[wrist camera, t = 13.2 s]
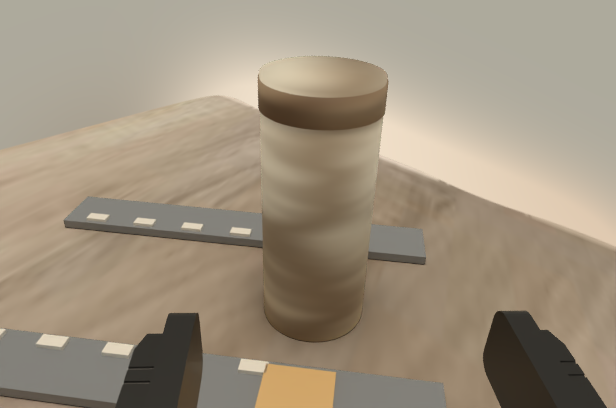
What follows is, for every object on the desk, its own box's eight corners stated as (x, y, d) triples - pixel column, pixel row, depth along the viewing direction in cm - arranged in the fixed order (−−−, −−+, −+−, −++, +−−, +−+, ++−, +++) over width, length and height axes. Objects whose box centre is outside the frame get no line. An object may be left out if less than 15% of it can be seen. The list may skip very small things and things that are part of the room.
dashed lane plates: (-93, 382, 21) (-99, 370, 20) (89, 202, 33) (87, 193, 33) (449, 456, 19) (452, 445, 18) (420, 235, 32) (422, 226, 31)
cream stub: (253, 336, 24) (243, 87, 18) (273, 270, 28) (271, 52, 22) (361, 348, 23) (390, 96, 17) (364, 279, 27) (387, 59, 21)
